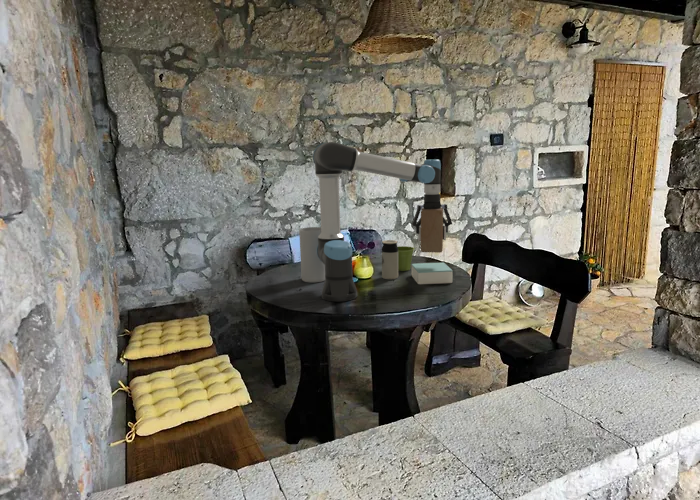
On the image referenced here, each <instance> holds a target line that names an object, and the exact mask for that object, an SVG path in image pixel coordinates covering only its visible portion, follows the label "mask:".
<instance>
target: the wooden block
mask: <svg viewBox="0 0 700 500" xmlns="http://www.w3.org/2000/svg"><path fill="white" fill-rule="evenodd" d="M443 217H444V209H442V207H441V208H440V209H424V208H422V210H421V211H420V218H421V225H420V227H421V241H420V252H421V253H439V254H440V253H443V250H444V249H443V248H444V246H443V245H444V243H443V242H444V240H443V226H444V223H443Z"/></svg>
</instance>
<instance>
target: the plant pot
mask: <svg viewBox="0 0 700 500" xmlns="http://www.w3.org/2000/svg"><path fill="white" fill-rule="evenodd" d="M397 247H398V272H405V271H410V270H411V268H412V261H413V260H412V259H413V254H414V250H415V247H412V246H404V245H403V246H397Z"/></svg>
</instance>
